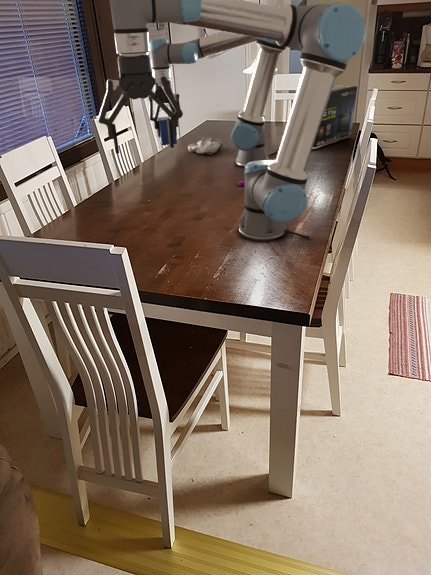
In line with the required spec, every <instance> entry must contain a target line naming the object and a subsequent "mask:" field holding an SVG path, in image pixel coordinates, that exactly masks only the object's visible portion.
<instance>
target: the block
mask: <svg viewBox="0 0 431 575" xmlns="http://www.w3.org/2000/svg"><path fill="white" fill-rule="evenodd" d="M167 119H170V117H169V116H160V117H158V119H157V121H159V128H160V137H158V142H159V144H160V145H161V146H169V139H168V128H167ZM177 140H178V139H177V135H176V133H173V143H174V145H177V144H178V141H177Z"/></svg>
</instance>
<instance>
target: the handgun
mask: <svg viewBox="0 0 431 575" xmlns="http://www.w3.org/2000/svg"><path fill="white" fill-rule="evenodd" d="M238 185H239V186H240V187H241V186H243V187H245V180H238Z"/></svg>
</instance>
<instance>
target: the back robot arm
mask: <svg viewBox="0 0 431 575" xmlns="http://www.w3.org/2000/svg"><path fill="white" fill-rule="evenodd" d="M274 6H275V7H280V8H282V7H283V6H284V5H281V6H280V5H274ZM252 43H256V46H257V48H258V49H257V53H256V57H255V62H254V65H253V69H252V73H251V77H250V81H249V85H248V89H247V92H246V96H245V100H244V103H243V104H244V105H243V109H242V110H240V111H239V112H238V114H237V118H236V121H235V125H234V127H233V128H232V130H231V135H230V139H231V142H232V144H233V146H234V147H235V148H236V149H238V153H237V157H236V159H235V165H236V166H237V167H240V168H244V169H245V166H246V164H247V163H249V162H253V161H259V160H269V157H270V156H273V155H275V154H277V153H278V151H277V150H275V151H276V152H275V151H273V152H274V153H273V152H271V153H272V154H271V153H269V154H270V155H268V156H267V154H268V153H267V150H266V121H267V118H266V114H265V113H264V112H265V109H266V106H267V101H268V98H269V94H270V90H271V88H272V83H273V80H274V78H275V77H274V76H275V73H276V69H277V66H278V64H279V63H278V62H279V59H280V55H282V53H284V52H286V48H287V47H284V46H279V45H278V44H277V43H276V41H275V40H269V39H263V38H257V37H251V36H246V35H240V34H234V33H228V32H223V31H217V32H214V33H211V34H208V35H205V36H202V37H200V38H195V39H193V40H190V41H185V42H180V43H179V42H177V43H169V42H168V39H167V37H163V38H161V37H160V38H159V37H158V38H151V39H149V44H150V52H149V53H150V54H149V55H150V56H151V64H152V74H153V77H154V78H157V77H160V76H161V75H163V76H165V77H166V78H167V83H168V87H169V89H170V91H171V93H172V94H173V96H174V98H175V100H176V102H177V103H178V105H179V107H180V108H181V104H180V94H179V93H178V92H175V93H174V91H173V88H172V80H171V77H172V76H171V65H192V64H196V63H197V62H198V60H200V59H204V58H207V57H210V56H213V55H216V54H219V53H220V54H221V53H223V52H226V51H229V50H233V49H237V48H240V47H243V46H246V45H249V44H252ZM153 92H154V93H155V94H156V95H157V97H158V98H159V99H160V100H161V101H162V102H163V103H164V104H168V108H169V109H170V110H171V112H172V113H174V112H175V110H174V108H173V106H172V105H171V103H170V101H169V99H168V97H167V96H166V94H165V92H164V90H163V88H162V87H160V86H159V85H158V83H155V85H154V87H153ZM147 100H148V119H149V121H151V122H153V126H154V127H153V128H154V130H156V133H157V137H158V138H159V137H160V128H159V121H157V119H158V118H159V115H160V110H161V107H160V106H159V105H158V104H157V103H156V106H155V111H154V102H153V101H154V100H153V99H152V98H151V97H150V96H148V97H147ZM182 117H183V116H181V117H178V118H177V119H176V128H179V119H181V118H182ZM176 136H178V131H176Z"/></svg>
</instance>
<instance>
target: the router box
mask: <svg viewBox="0 0 431 575" xmlns="http://www.w3.org/2000/svg"><path fill="white" fill-rule="evenodd" d="M357 93H358V86H356V85H350V84H339V85H338V84H337V85H333V88H332V91H331V94H330V97H329V100H328V103H327V106H326V109H325V112H324V115H323V118H322V121H321V124H320V126H319V129H318V132H317V135H316V138H315V141H314V144H313V147H317V146H320V145H323V144H325V143H328V142H331V141H333V140H336V139H338V138H341V137H344V136H347V135H351V136H352V133H353V132H352V131H353V125H354V115H355V109H356V99H357Z"/></svg>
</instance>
